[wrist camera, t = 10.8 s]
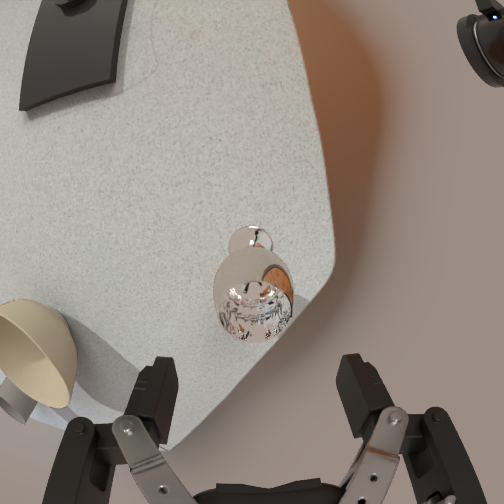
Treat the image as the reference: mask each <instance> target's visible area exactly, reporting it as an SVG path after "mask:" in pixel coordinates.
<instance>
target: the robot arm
mask: <svg viewBox="0 0 504 504" xmlns="http://www.w3.org/2000/svg"><path fill="white" fill-rule="evenodd" d="M475 1H476V4H477V6H478V10H479V12H481V13H482V15H479V16H476V17H474V20H475V22H474V23H473V26H472V33H473V37H474V41H475V43H476V46H477V48H478V50H479V52H480V54H481V56H482V58H483V60H484V61H485V63H486V64H487V66H488V67H489V68H490V69H491V71H492V72H493V73H494V74H495V75H497V76H498V77H500V78H502V79H504V7H503V6H502V5H501V4H500V3H498V2H497V1H496V0H475ZM336 386H337V389H338V392H339V395H340V398H341V401H342V404H343V407H344V410H345V413H346V415H347V418H348V421H349V424H350V427H351V430H352V433H353V436H354V438H359V437H362V438H363V443H362V445H361V447H360V449H359V451H358V453H357V455H356V457H355V459H354V461H353V463H352V465H351V467H350V469H349V470H348V472H347V474H346V476H345V477H344V478H343V480H342V481H341V483H340V485H339V486H336V485H332V484H327V483H321V481H320V478H316V479H308V480H301V481H294V482H291V483H288V484H285V485H281V486H278V487H274V488H270V489H268V488H261V487H255V486H249V485H245V484H218V483H217V484H216V488H215V489H210V490H207V491H203V492H201V493H198V494H196V495H195V496H193V497H192V496H191V494H190V493H189V492H188V491H187V489H186V488H185V487H184V485H183V484H182V483H181V481H180V480H179V479H178V477H177V476H176V475H175V473H174V472H173V470H172V469H171V467H170V466H169V465H168V463H167V462H166V460H165V459H164V457H163V456H162V455H161V453H160V452H159V450H158V449H159V444H166V445H167V441H168V435H169V430H170V426H171V421H172V416H173V411H174V406H175V402H176V397H177V393H178V377H177V373H176V368H175V364H174V360H173V358H172V357H160V356H157V357H156V359H155V362H154V364H153V366H146V367H145V368H144V369H143V370H142V371H141V372H140V373H139V375H138V378H137V381H136V383H135V386H134V389H133V391H132V394H131V397H130V399H129V402H128V405H127V407H126V410H125V413H124V415H123V416H120V417H118V418H117V419H116V420H115V421H114V422H113V423H108V424H93V423H92V421H91V420H89V419H88V418H85V417H77V418H74V419H72V420H71V421H70V422H69V423H68V425H67V428H66V430H65V433H64V436H63V438H62V441H61V444H60V446H59V449H58V452H57V455H56V458H55V461H54V464H53V467H52V470H51V474H50V477H49V480H48V483H47V487H46V491H45V494H44V498H43V502H42V504H109V498H110V492H111V487H112V482H113V476H114V471H115V467H116V465H118V464H128V465H129V467H130V472H131V474H132V476H133V478H134V480H135V481H136V483H137V485H138V487H139V488H140V490H141V492H142V493H143V495H144V497H145V498H146V500H147V501H148V503H149V504H382V502H383V500H384V498H385V495H386V494H387V491H388V489H389V486H390V484H391V482H392V479H393V477H394V474H395V471H396V469H397V466H398V464H399V461H400V457H399V456H398V454H402V455H403V458H404V461H405V464H406V467H407V471H408V474H409V477H410V480H411V483H412V487H413V490H414V494H415V497H416V501H417V504H487V502H486V499H485V496H484V493H483V491H482V488H481V485H480V483H479V480H478V478H477V475H476V473H475V470H474V468H473V466H472V463H471V461H470V459H469V456H468V454H467V452H466V450H465V448H464V445H463V443H462V442H461V439H460V437H459V435H458V433H457V431H456V429H455V427H454V425H453V423H452V421H451V419H450V417H449V415H448V414H447V412H446V411H445V410H444V409H442V408H440V407H431V408H429V409H428V410H427V411H426V412H425V414H407V413H406V412H405V411H404V410H403V409H402V408H400V407H396V406H395V405H394V403H393V401H392V399H391V397H390V395H389V393H388V391H387V389H386V387H385V385H384V384H383V381H382V379H381V378H380V376H379V374H378V372H377V370H376V368H375V367H374V366H372V365H371V364H370V363H369V362H365V363H364V362H363V360H362V358H361V356H360V354H358V353H356V354H348V355H343V356H342V359H341V363H340V366H339V369H338V373H337V376H336Z"/></svg>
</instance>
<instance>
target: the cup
mask: <svg viewBox="0 0 504 504" xmlns="http://www.w3.org/2000/svg"><path fill="white" fill-rule="evenodd" d="M37 402H38V401H36V400H34V399H32V398H31V397H29V396H28V395H27V394H25V393H24V392H23V391H21V390H20V389H19V388H18V387H17V386H16V385H15V384H14V383H13V382H12V381H11V380H10V379H9V378H8V377H6V378H5V380H4V381H3V382H2V384H1V385H0V406H1V408H2V409H3V410H4V411H5V412H6V413H8V415H10V416H11V417H12V418H14V419H15V420H16V421H18V422H20V423H21V424H25V423H26V422H27V420H28V418H29V416H30V415H31V413H32V411H33V409H34V408H35V406H36V404H37Z"/></svg>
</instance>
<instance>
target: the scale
mask: <svg viewBox="0 0 504 504" xmlns="http://www.w3.org/2000/svg"><path fill="white" fill-rule="evenodd" d="M126 5H127V0H42V2H41V5H40V8H39V11H38V14H37V17H36V20H35V24H34V27H33V31H32V34H31V38H30V42H29V46H28V51H27V56H26V60H25V66H24V72H23V78H22V85H21V93H20V103H19V111H27V110H29V109H31V108H34V107H36V106H39V105H41V104H44V103H46V102H49V101H52V100H54V99H57V98H60V97H63V96H66V95H69V94H72V93H75V92H79V91H82V90H85V89H89V88H92V87H96V86H100V85H104V84H108V83H112V82H115V81H116V70H117V60H118V52H119V44H120V38H121V31H122V25H123V20H124V15H125V10H126Z"/></svg>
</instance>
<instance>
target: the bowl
mask: <svg viewBox="0 0 504 504" xmlns="http://www.w3.org/2000/svg"><path fill="white" fill-rule="evenodd" d="M77 367H78V359H77V352H76V347H75V344H74V341H73V338H72V336H71V334H70V329H69V326H68V324H67V322H66V320H65V319H64V317H63V316H62V315H61V314H60V313H59V312H58V311H57V310H55V309H53V308H51V307H48V306H45V305H43V304H41V303H38V302H36V301H33V300H28V299H17V300H13V301H10V302H7V303H5V304H2V305H0V369H1V370H2V371H3V372H4V374H5V375H6V376H7V377H8V378H9V379H10V380H11V381H12V382H13V383H14V384H15V385H16V386H17V387H18V388H19V389H20V390H21V391H23V392H24V393H25V394H27V395H28V396H29V397H31V398H32V399H34V400H36V401H38V402H39V403H41V404H44V405H46V406H49V407H52V408H64V407H66V406H68V404H69V403H70V400H71V396H72V391H73V387H74V383H75V379H76V374H77Z"/></svg>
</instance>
